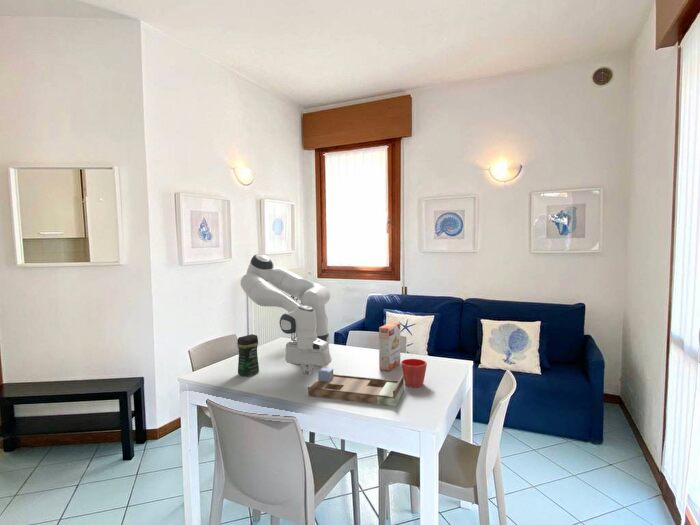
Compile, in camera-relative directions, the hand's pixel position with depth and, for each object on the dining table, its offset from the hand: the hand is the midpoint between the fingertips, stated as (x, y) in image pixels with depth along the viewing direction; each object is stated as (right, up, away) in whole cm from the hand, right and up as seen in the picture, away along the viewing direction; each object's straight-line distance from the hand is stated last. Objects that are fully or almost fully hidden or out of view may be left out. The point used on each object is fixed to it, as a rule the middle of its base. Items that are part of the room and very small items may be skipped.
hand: (307, 374), depth 169 cm
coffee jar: (-30, -5, +15) cm, 34 cm away
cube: (+8, -2, -3) cm, 9 cm away
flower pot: (+46, -4, -2) cm, 47 cm away
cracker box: (+39, -3, +21) cm, 44 cm away
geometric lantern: (-9, -1, +64) cm, 65 cm away
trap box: (+21, -5, -11) cm, 24 cm away
